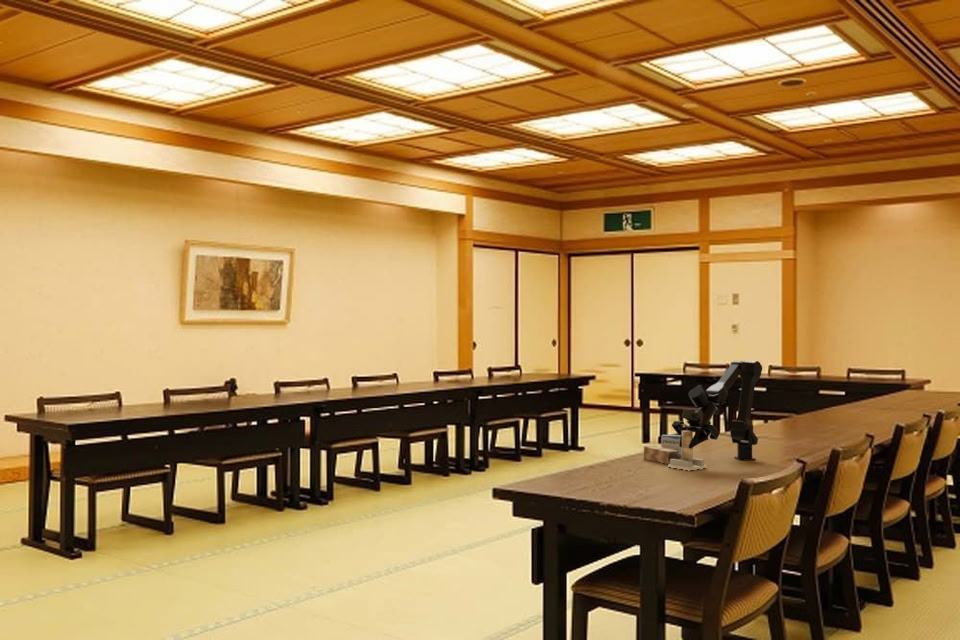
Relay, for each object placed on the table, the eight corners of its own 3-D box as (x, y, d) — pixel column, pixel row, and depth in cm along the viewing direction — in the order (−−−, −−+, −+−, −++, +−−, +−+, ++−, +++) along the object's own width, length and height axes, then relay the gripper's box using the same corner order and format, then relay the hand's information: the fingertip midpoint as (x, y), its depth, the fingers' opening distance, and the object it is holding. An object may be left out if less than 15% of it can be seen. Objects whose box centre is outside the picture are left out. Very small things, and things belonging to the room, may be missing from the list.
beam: (643, 459, 358) (643, 446, 358) (654, 458, 360) (654, 445, 360) (668, 464, 343) (668, 451, 344) (678, 464, 346) (678, 451, 346)
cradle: (685, 465, 343) (685, 456, 343) (706, 468, 335) (706, 459, 335) (667, 467, 337) (667, 459, 337) (688, 471, 329) (688, 462, 329)
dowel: (679, 464, 337) (679, 430, 337) (689, 463, 338) (689, 430, 338) (685, 465, 333) (685, 432, 333) (694, 465, 335) (694, 431, 335)
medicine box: (661, 456, 364) (661, 435, 364) (662, 455, 369) (662, 434, 369) (681, 457, 362) (681, 436, 362) (681, 456, 366) (681, 434, 366)
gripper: (674, 399, 346) (655, 430, 339) (713, 403, 331) (694, 435, 324) (688, 418, 351) (669, 449, 344) (727, 423, 336) (708, 455, 329)
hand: (684, 447), depth 335 cm, fingers open, 4 cm apart
